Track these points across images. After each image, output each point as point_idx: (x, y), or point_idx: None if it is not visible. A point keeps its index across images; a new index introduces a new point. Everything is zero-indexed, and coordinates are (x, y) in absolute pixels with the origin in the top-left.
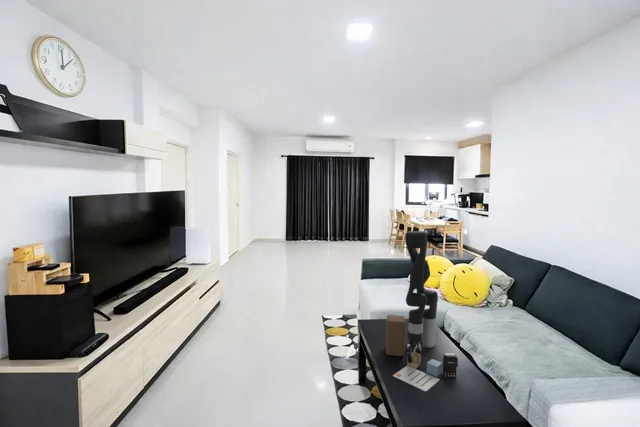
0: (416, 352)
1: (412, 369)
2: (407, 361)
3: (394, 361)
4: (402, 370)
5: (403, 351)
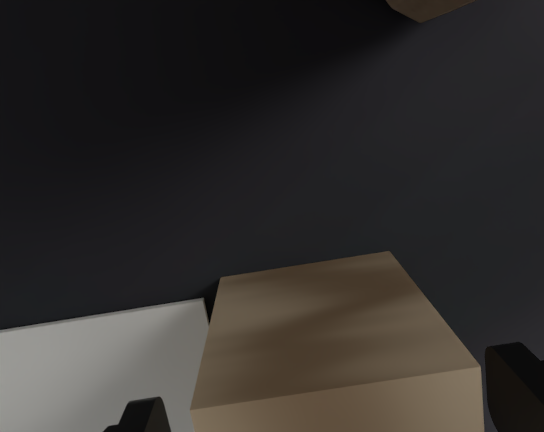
0: (541, 415)
1: (178, 421)
2: (213, 314)
3: (107, 50)
4: (5, 358)
5: (454, 4)
